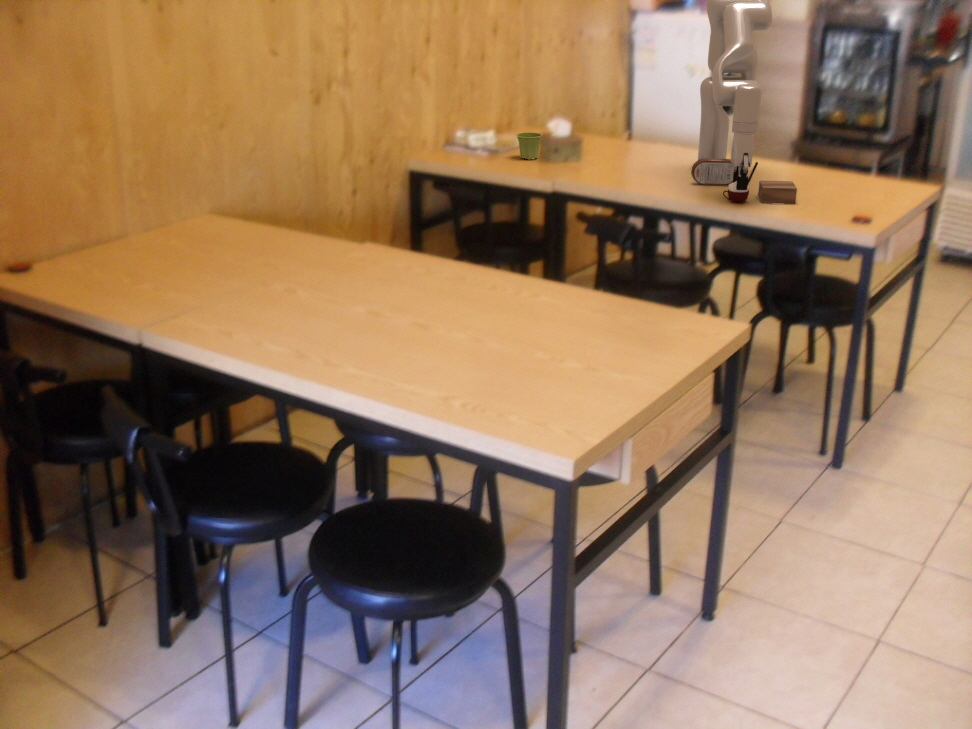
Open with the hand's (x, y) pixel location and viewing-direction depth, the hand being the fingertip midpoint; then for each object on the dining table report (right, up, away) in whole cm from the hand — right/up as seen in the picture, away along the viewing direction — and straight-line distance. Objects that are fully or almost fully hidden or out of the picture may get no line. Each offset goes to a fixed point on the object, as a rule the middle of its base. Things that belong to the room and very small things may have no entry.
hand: (739, 186), depth 314 cm
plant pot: (-61, +21, +63) cm, 91 cm away
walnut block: (+12, -4, +4) cm, 13 cm away
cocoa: (0, -4, +2) cm, 5 cm away
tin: (-3, +4, +23) cm, 24 cm away
